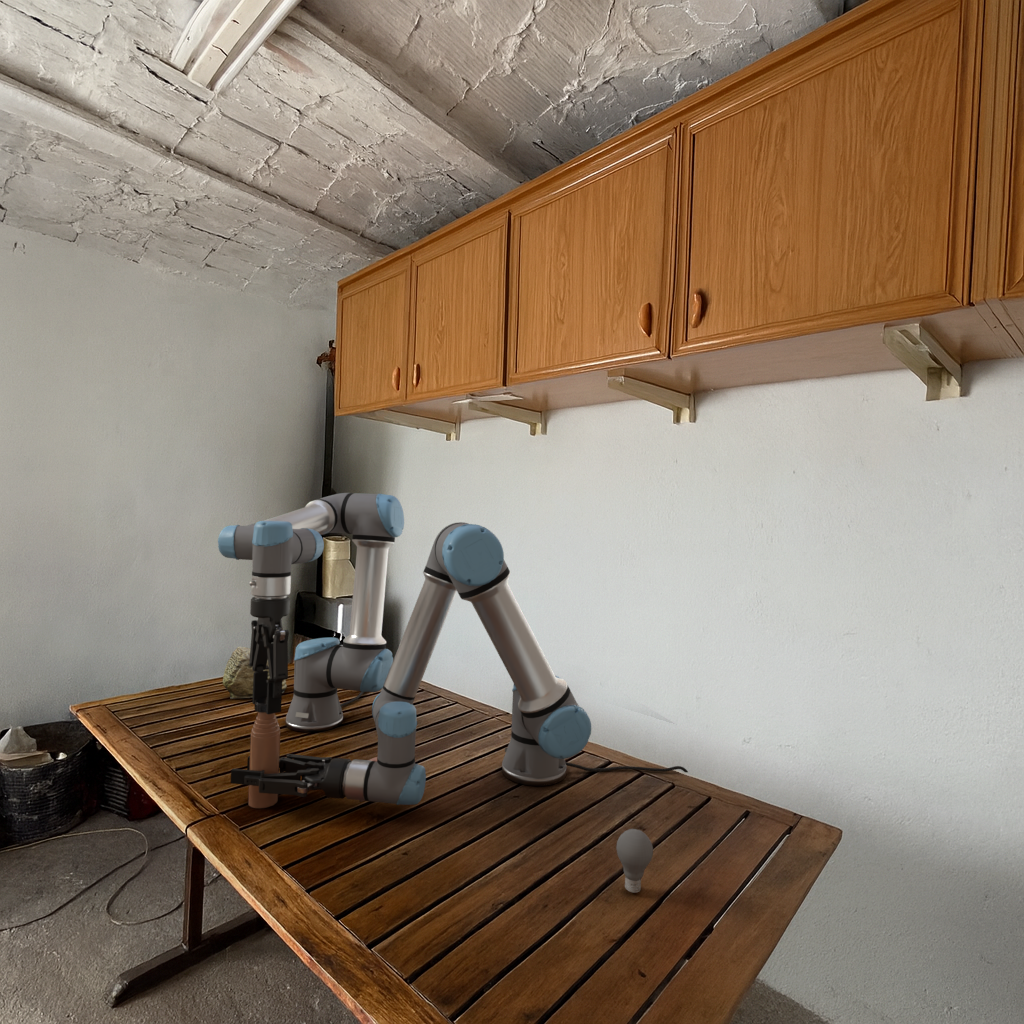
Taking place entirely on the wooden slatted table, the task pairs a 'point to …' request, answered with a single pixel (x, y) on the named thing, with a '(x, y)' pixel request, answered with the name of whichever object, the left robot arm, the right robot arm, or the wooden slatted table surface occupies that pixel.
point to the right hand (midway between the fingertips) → (240, 769)
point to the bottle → (264, 756)
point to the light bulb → (634, 857)
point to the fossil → (241, 674)
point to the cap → (261, 705)
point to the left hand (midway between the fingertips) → (266, 707)
